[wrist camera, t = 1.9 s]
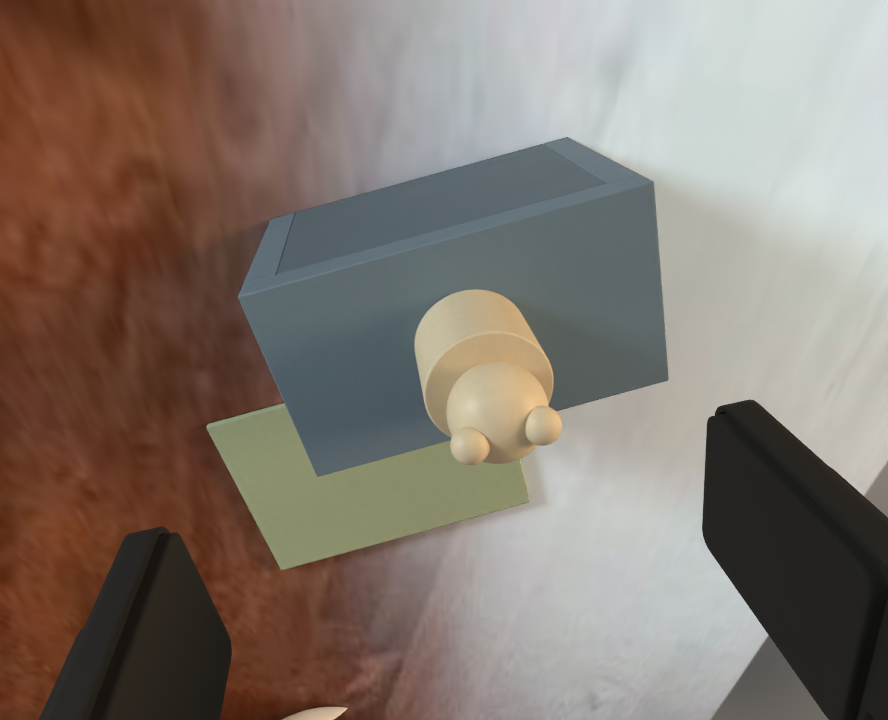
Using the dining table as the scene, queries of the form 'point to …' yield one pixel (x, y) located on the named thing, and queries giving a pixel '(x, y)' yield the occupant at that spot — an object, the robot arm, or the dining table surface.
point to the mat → (351, 490)
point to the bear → (485, 378)
